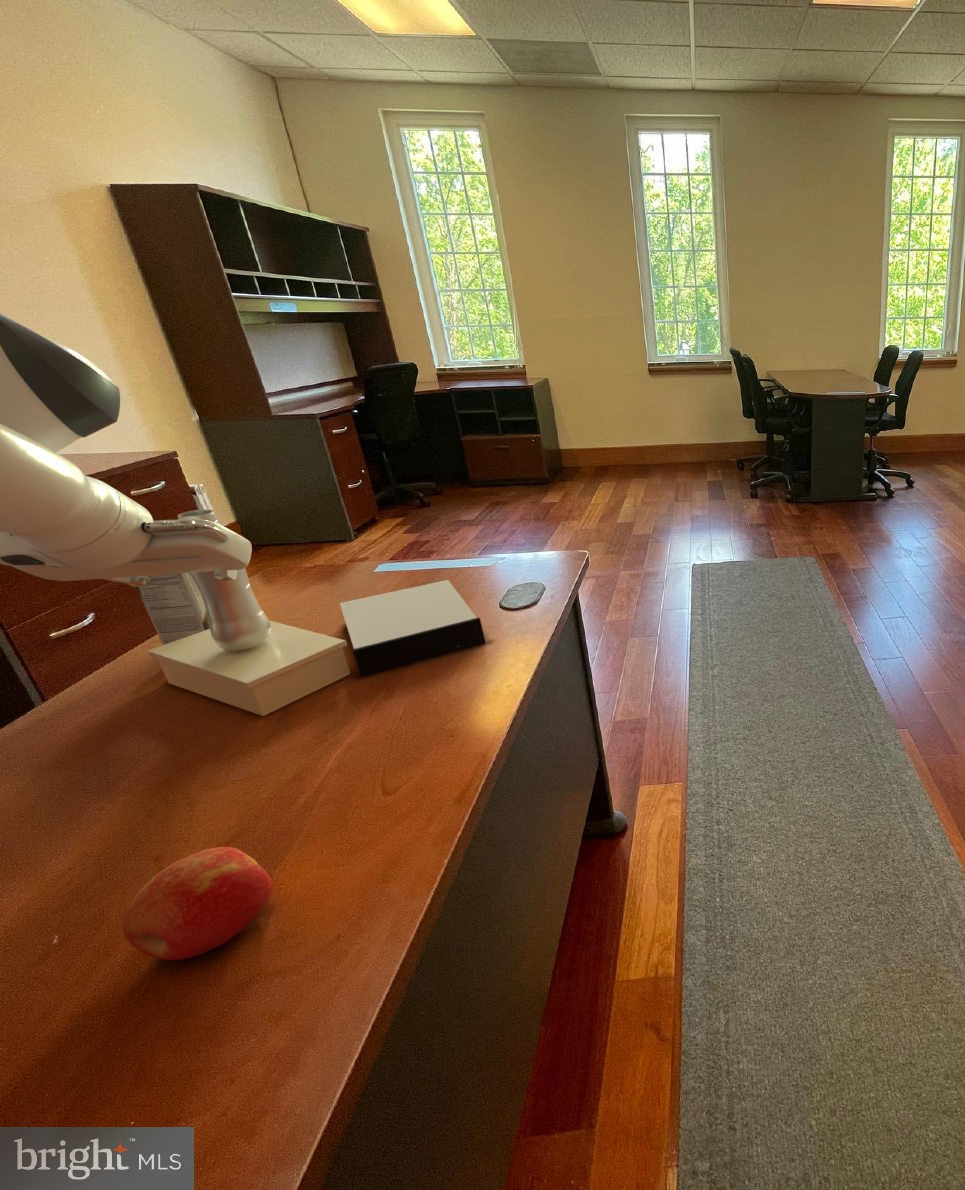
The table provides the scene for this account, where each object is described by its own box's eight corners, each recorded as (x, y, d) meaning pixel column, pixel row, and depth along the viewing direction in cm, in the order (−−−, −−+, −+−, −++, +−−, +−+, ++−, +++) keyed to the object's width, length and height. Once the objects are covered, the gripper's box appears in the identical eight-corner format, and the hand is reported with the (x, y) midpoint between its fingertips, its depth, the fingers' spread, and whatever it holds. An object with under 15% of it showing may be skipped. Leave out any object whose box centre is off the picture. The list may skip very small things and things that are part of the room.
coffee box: (200, 638, 103) (162, 549, 97) (246, 633, 105) (211, 545, 99) (168, 664, 95) (124, 568, 89) (218, 658, 97) (178, 564, 91)
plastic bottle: (208, 659, 85) (149, 522, 77) (234, 637, 91) (182, 508, 83) (262, 653, 87) (210, 518, 79) (284, 632, 93) (238, 505, 85)
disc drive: (362, 679, 92) (352, 650, 90) (345, 627, 108) (337, 601, 106) (486, 645, 102) (480, 618, 100) (454, 602, 118) (449, 578, 116)
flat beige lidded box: (163, 686, 90) (146, 650, 87) (261, 647, 101) (249, 614, 98) (262, 721, 82) (246, 683, 80) (356, 675, 93) (345, 640, 91)
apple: (297, 913, 55) (267, 848, 52) (182, 998, 48) (140, 928, 45) (245, 883, 58) (214, 819, 55) (130, 960, 51) (86, 891, 48)
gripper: (211, 497, 69) (283, 550, 82) (-14, 507, 65) (99, 562, 78) (201, 547, 67) (277, 593, 80) (-33, 561, 63) (87, 608, 75)
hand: (187, 578), depth 79 cm, fingers open, 8 cm apart
